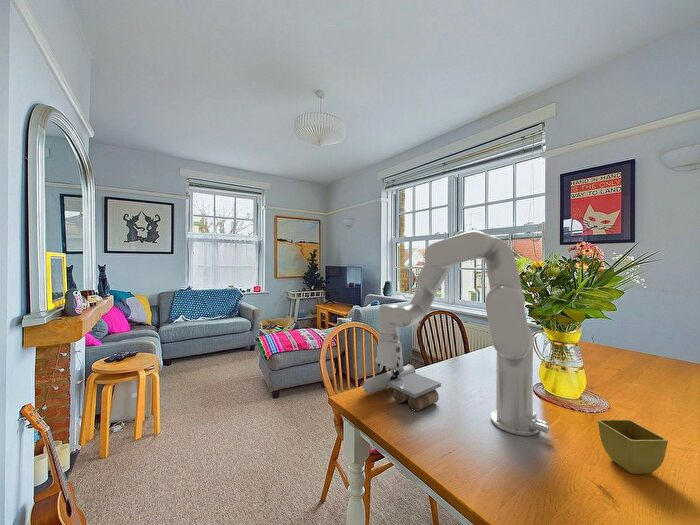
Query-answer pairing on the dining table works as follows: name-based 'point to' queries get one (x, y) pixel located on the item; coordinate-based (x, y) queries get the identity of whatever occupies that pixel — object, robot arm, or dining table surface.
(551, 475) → the dining table surface
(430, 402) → the rollers
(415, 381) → the slab
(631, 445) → the flower pot
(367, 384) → the tube
